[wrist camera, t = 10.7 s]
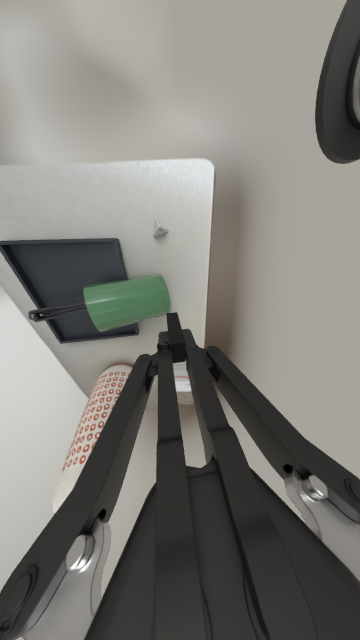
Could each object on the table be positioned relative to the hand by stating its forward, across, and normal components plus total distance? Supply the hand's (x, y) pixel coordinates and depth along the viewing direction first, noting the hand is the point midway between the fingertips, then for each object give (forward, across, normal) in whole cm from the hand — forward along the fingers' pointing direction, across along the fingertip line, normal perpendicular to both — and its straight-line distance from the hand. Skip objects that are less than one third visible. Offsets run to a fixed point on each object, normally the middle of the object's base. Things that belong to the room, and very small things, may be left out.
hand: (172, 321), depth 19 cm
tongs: (+12, -15, -1) cm, 19 cm away
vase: (+17, -18, -29) cm, 38 cm away
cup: (+13, -1, 0) cm, 13 cm away
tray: (+17, -19, -1) cm, 25 cm away
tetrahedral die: (+17, 0, +12) cm, 21 cm away
